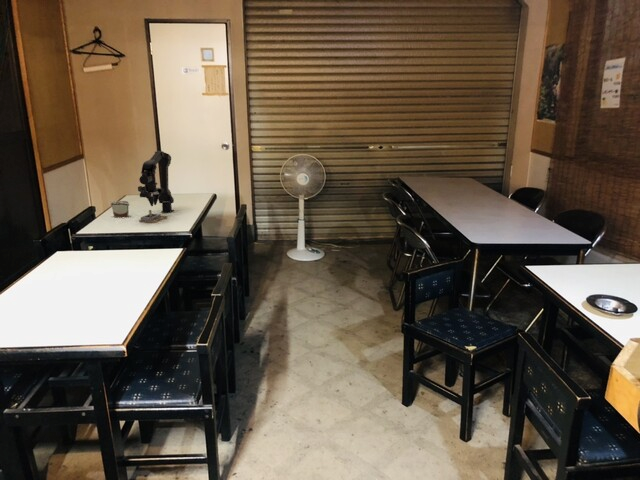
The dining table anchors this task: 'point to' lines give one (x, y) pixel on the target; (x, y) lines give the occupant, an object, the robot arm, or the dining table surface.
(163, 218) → the keeper board
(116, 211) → the food container
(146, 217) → the steel link
